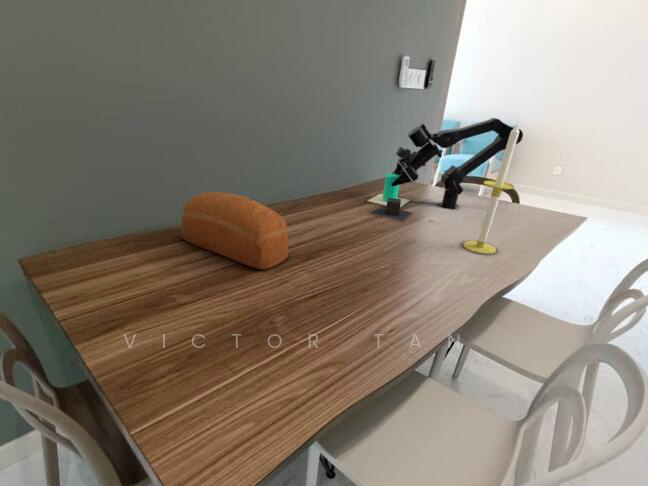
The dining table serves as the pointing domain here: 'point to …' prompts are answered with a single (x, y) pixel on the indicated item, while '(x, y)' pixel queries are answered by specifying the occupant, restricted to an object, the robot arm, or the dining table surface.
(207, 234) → the bread
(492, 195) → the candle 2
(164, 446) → the dining table surface
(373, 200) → the cream pad
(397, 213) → the charcoal block
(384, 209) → the charcoal mat
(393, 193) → the candle
